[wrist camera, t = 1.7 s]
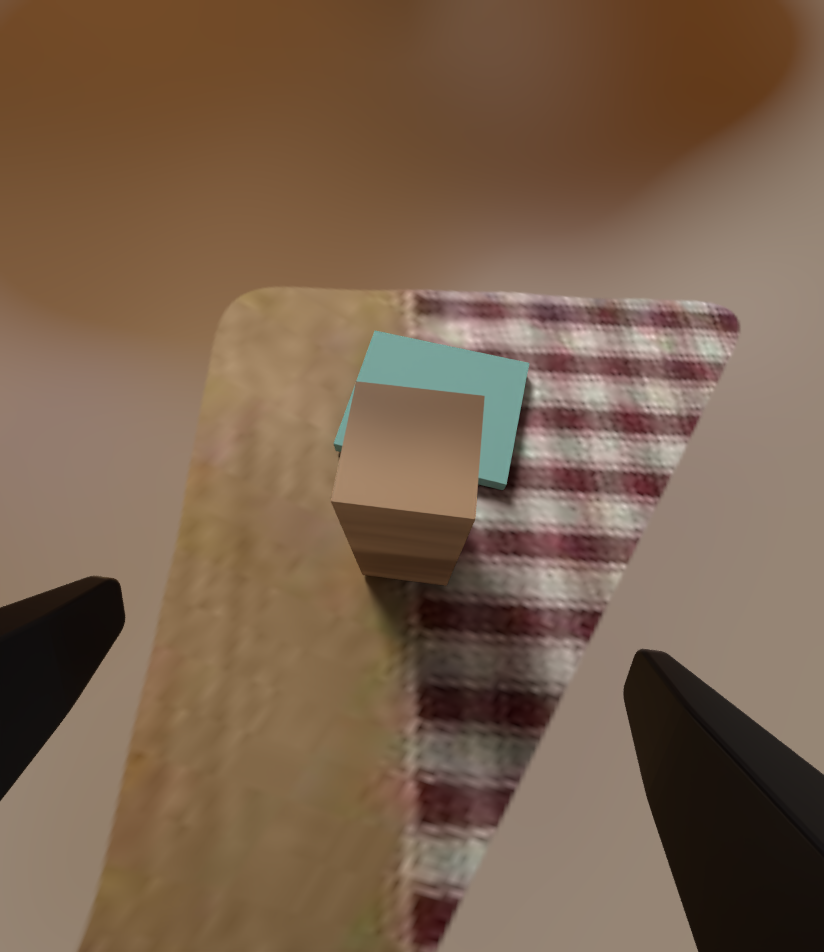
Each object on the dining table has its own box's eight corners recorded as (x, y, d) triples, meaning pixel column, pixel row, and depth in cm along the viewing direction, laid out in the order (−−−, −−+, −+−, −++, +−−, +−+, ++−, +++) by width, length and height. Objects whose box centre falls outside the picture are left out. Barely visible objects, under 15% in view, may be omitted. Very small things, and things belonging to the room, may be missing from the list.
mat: (503, 490, 24) (506, 484, 23) (335, 450, 24) (333, 443, 24) (525, 371, 27) (529, 362, 26) (375, 339, 27) (374, 330, 27)
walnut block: (446, 585, 22) (475, 518, 13) (362, 574, 22) (330, 500, 13) (454, 506, 23) (484, 395, 14) (376, 496, 24) (356, 381, 14)
